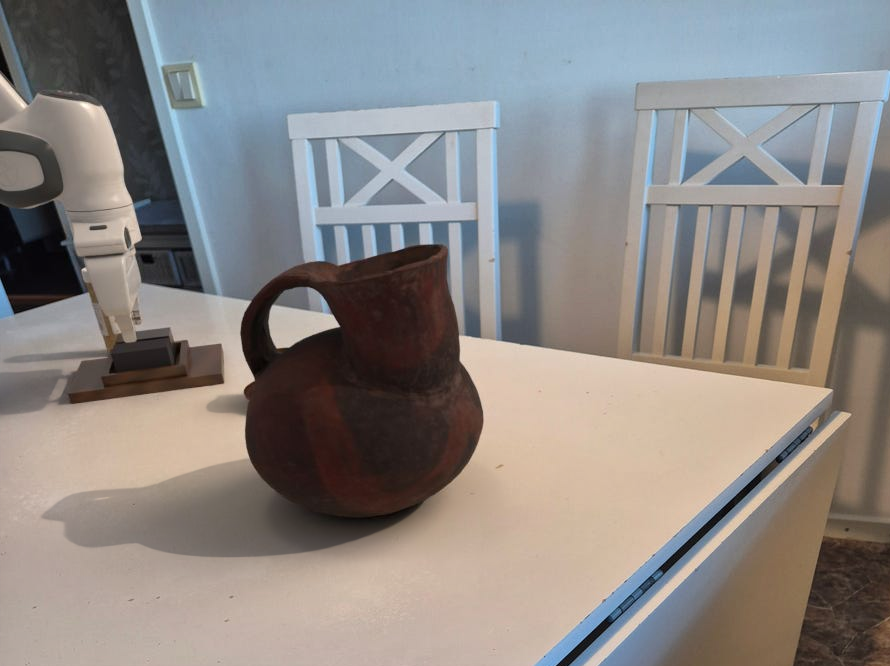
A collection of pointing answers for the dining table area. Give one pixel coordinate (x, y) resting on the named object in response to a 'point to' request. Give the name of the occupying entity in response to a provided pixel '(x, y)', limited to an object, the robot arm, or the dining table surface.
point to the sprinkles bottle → (102, 316)
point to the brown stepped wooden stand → (149, 371)
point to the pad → (142, 355)
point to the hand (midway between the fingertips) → (133, 332)
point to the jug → (363, 388)
